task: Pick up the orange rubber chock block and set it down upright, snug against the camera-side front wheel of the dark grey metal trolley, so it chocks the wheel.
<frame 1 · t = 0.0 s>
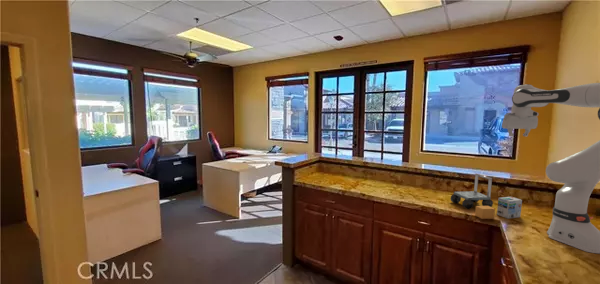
hand: (518, 136, 155), 48 cm above the counter, tool pointing down, fingers open, 8 cm apart
chock: (484, 217, 156), on the counter
trolley: (470, 205, 175), on the counter
light bulb box: (508, 216, 158), on the counter
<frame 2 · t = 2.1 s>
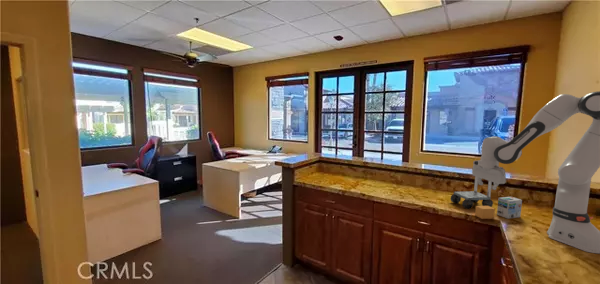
hand: (486, 187, 154), 18 cm above the counter, tool pointing down, fingers open, 8 cm apart
nothing on the counter moved.
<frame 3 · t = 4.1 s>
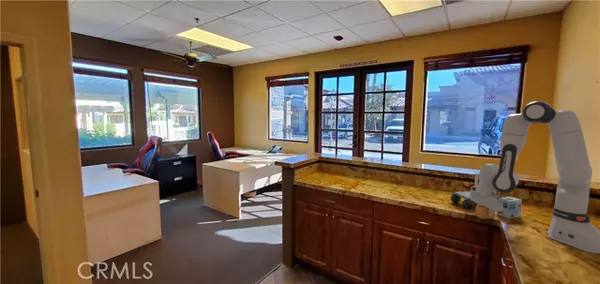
hand: (484, 213, 155), 2 cm above the counter, tool pointing down, fingers closed on chock, 5 cm apart
chock: (484, 216, 156), on the counter, touching gripper
everything else where it was.
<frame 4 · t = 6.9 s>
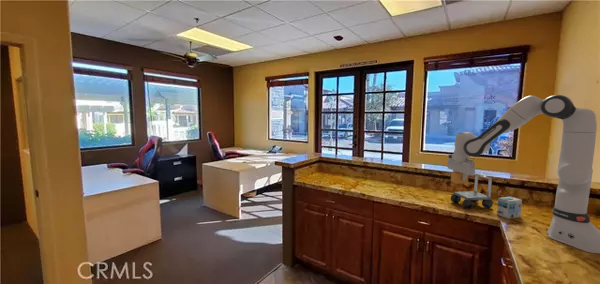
hand: (459, 178, 166), 20 cm above the counter, tool pointing down, fingers closed on chock, 5 cm apart
chock: (459, 182, 166), point 18 cm above the counter, touching gripper
everything else where it was.
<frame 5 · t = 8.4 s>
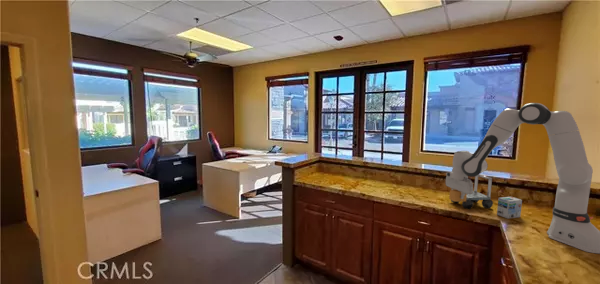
hand: (457, 196, 167), 8 cm above the counter, tool pointing down, fingers closed on chock, 5 cm apart
chock: (457, 200, 167), point 6 cm above the counter, touching gripper
everything else where it was.
when the fingers open (4 cm above the counter, at t = 9.7 s): chock drops 2 cm, on the counter.
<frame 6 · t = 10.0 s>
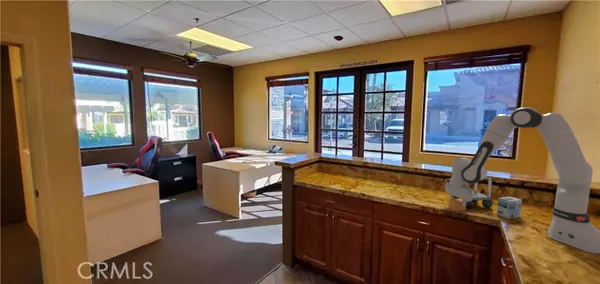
hand: (457, 203, 168), 4 cm above the counter, tool pointing down, fingers open, 8 cm apart
chock: (457, 209, 168), on the counter
everything else where it was.
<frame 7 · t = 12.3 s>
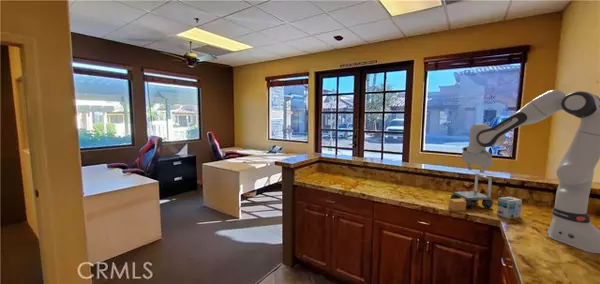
hand: (475, 171, 165), 25 cm above the counter, tool pointing down, fingers open, 8 cm apart
nothing on the counter moved.
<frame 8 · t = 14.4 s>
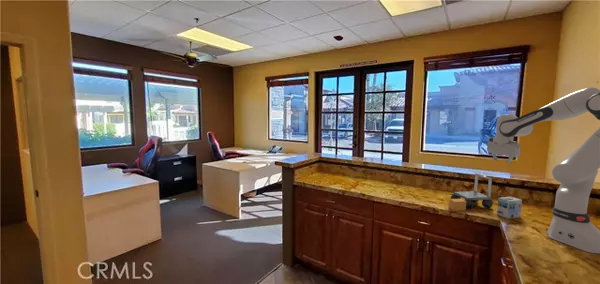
hand: (501, 161, 164), 31 cm above the counter, tool pointing down, fingers open, 8 cm apart
nothing on the counter moved.
at the end: chock 1.0 cm from the target spot on the counter beside the trolley, on the counter; chock tilted 0°; the gripper is holding nothing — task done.
